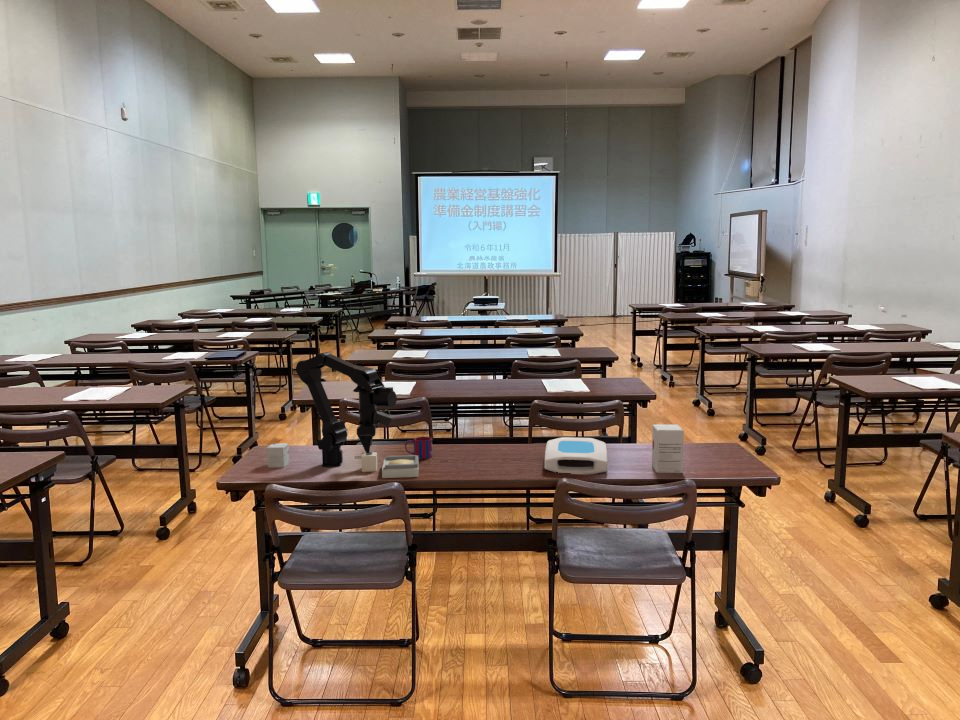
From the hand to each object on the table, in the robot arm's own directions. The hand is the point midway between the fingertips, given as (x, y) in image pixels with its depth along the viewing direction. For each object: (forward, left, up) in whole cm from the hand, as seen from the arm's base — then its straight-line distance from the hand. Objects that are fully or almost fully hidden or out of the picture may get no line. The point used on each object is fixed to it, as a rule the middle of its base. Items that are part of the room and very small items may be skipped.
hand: (368, 449), depth 244 cm
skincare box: (-33, +9, -7) cm, 35 cm away
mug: (+17, +15, -7) cm, 24 cm away
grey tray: (+11, -4, -7) cm, 14 cm away
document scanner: (+73, 0, -8) cm, 73 cm away
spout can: (-1, 0, -7) cm, 7 cm away
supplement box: (+102, -12, -7) cm, 103 cm away
